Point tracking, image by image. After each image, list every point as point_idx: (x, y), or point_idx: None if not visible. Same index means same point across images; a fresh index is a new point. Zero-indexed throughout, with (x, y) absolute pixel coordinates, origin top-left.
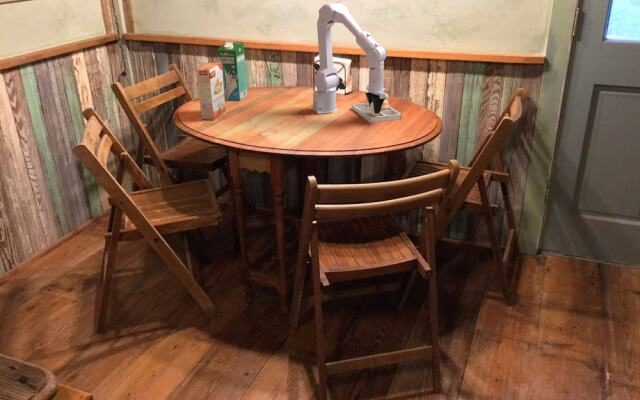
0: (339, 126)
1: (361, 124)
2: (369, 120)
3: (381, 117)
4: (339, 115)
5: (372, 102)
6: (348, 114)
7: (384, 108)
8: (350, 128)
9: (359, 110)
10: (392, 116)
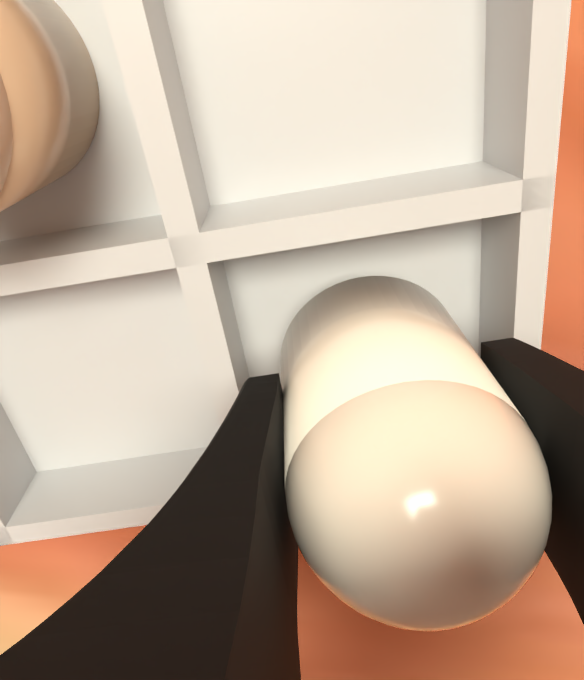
0: (446, 659)
1: None
2: None
3: (535, 281)
4: None
5: (442, 629)
6: (37, 559)
7: (53, 96)
8: (547, 597)
9: (82, 528)
10: (555, 14)
